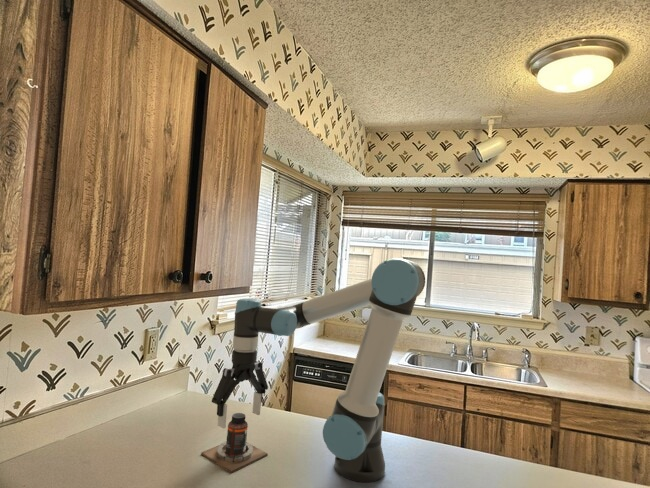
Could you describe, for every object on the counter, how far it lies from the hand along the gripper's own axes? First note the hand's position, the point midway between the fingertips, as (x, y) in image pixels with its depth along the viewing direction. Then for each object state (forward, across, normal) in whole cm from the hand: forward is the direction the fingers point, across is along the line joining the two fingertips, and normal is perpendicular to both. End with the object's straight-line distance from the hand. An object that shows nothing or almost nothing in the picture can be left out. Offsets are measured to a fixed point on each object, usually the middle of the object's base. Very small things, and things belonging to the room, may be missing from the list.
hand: (239, 420), depth 116 cm
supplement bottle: (+10, 0, -1) cm, 10 cm away
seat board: (+11, 0, -1) cm, 11 cm away
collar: (+11, 0, -1) cm, 11 cm away
